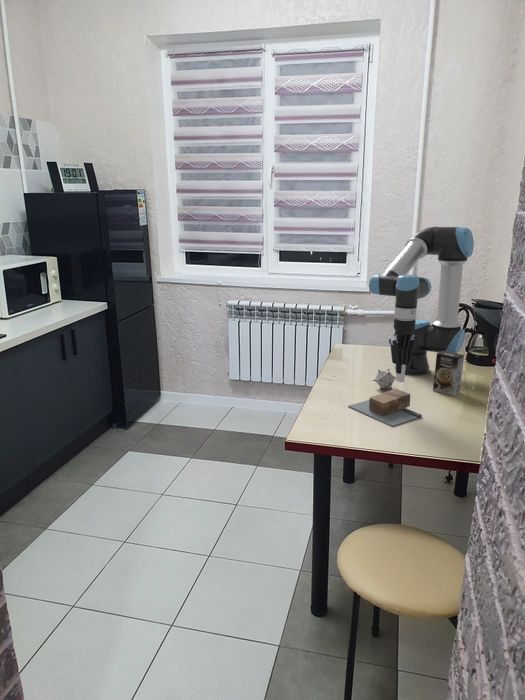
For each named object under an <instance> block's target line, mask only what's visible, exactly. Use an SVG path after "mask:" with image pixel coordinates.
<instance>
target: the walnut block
mask: <svg viewBox="0 0 525 700" xmlns="http://www.w3.org/2000/svg"><path fill="white" fill-rule="evenodd" d="M368 400H369V410H370V411H372V412H375V413H377V414H379V415H382V416H386V415H388V414H391V413H394V412H396V411H399V410H401V409H404V408H406V409H408V408H409V407H411V406H410V405H411V393H410V392H406V391H404V390H401V389H399V388H392V389H390V390H387V391H384V392H382V393H379V394H376V395H373V396H370V397H369V399H368Z"/></svg>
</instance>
